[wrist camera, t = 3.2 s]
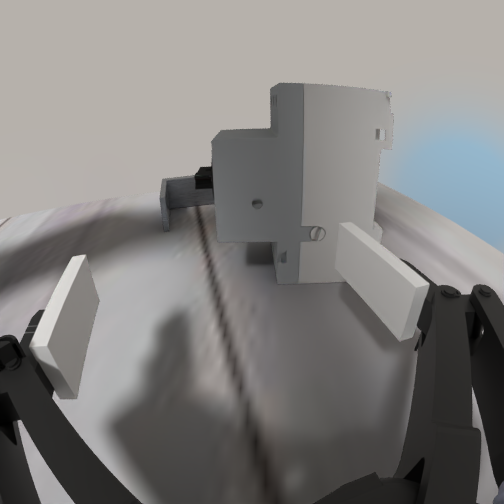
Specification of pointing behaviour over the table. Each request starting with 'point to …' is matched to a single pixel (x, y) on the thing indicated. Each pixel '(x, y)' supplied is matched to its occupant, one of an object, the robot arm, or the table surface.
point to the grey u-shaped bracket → (181, 196)
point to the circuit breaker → (302, 176)
